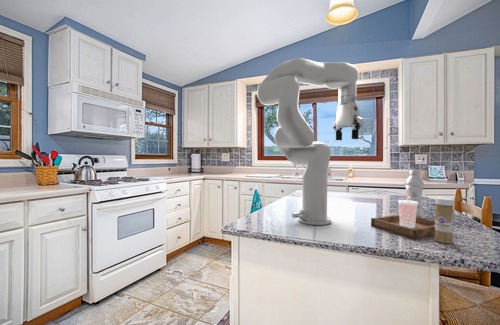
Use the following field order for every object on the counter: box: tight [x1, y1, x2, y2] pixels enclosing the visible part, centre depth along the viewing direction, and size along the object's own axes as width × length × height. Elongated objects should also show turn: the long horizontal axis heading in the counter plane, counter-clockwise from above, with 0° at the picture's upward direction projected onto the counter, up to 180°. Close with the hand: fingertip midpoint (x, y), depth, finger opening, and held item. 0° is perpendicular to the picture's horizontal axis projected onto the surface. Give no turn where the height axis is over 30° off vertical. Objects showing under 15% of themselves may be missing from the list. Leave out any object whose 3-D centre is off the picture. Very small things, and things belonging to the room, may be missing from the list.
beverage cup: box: [397, 187, 418, 228], centre depth 90 cm, size 6×6×14 cm
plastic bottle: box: [404, 169, 425, 218], centre depth 106 cm, size 6×7×20 cm
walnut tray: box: [370, 213, 435, 241], centre depth 90 cm, size 18×16×3 cm
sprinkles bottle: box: [433, 196, 455, 244], centre depth 78 cm, size 5×5×13 cm
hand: (346, 139), depth 114 cm, fingers open, 9 cm apart
